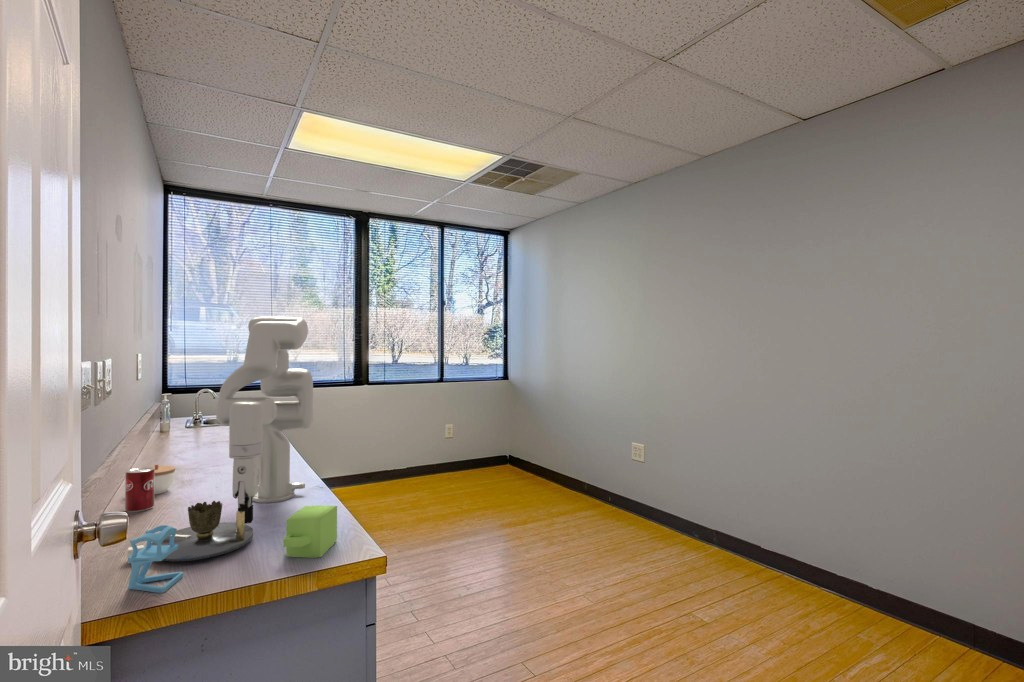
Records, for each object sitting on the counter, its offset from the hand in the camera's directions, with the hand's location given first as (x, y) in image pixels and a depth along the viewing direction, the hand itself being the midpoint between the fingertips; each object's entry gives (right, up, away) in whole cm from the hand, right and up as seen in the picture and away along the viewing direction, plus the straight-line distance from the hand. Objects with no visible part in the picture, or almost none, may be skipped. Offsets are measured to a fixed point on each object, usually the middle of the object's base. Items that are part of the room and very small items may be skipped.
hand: (245, 522), depth 129 cm
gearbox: (+17, -6, -2) cm, 18 cm away
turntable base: (-13, -5, -5) cm, 14 cm away
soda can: (-46, -6, +27) cm, 54 cm away
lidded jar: (-54, -6, +45) cm, 70 cm away
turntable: (-9, -4, -2) cm, 10 cm away
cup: (-9, -3, -2) cm, 10 cm away
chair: (-8, -6, -22) cm, 24 cm away
